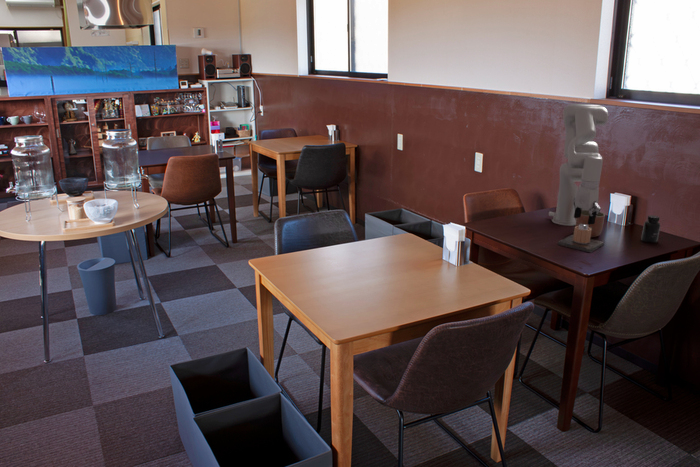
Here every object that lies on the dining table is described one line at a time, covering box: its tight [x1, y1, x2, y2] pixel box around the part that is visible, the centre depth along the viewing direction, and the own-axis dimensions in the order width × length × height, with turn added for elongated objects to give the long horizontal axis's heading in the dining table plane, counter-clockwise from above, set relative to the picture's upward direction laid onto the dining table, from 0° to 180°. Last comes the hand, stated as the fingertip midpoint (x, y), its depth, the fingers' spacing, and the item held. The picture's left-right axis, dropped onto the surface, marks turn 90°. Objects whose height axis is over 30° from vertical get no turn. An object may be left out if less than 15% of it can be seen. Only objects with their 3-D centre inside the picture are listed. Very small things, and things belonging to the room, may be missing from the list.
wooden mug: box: [573, 225, 592, 243], centre depth 248 cm, size 8×7×6 cm
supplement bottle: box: [640, 214, 661, 244], centre depth 255 cm, size 7×7×12 cm
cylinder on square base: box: [557, 224, 605, 253], centre depth 248 cm, size 15×15×10 cm
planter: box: [575, 209, 606, 238], centre depth 263 cm, size 12×12×11 cm
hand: (583, 220), depth 247 cm, fingers open, 9 cm apart
